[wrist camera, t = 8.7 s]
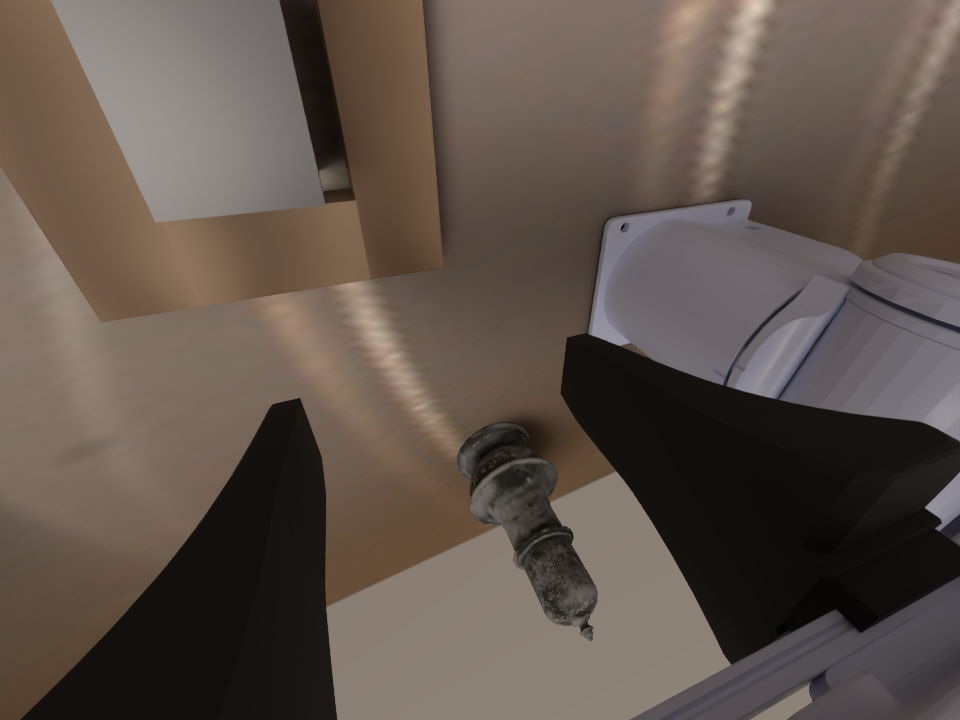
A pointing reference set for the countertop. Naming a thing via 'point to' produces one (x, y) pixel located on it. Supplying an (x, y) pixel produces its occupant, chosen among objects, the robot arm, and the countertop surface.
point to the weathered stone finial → (528, 519)
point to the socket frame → (231, 238)
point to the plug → (200, 102)
